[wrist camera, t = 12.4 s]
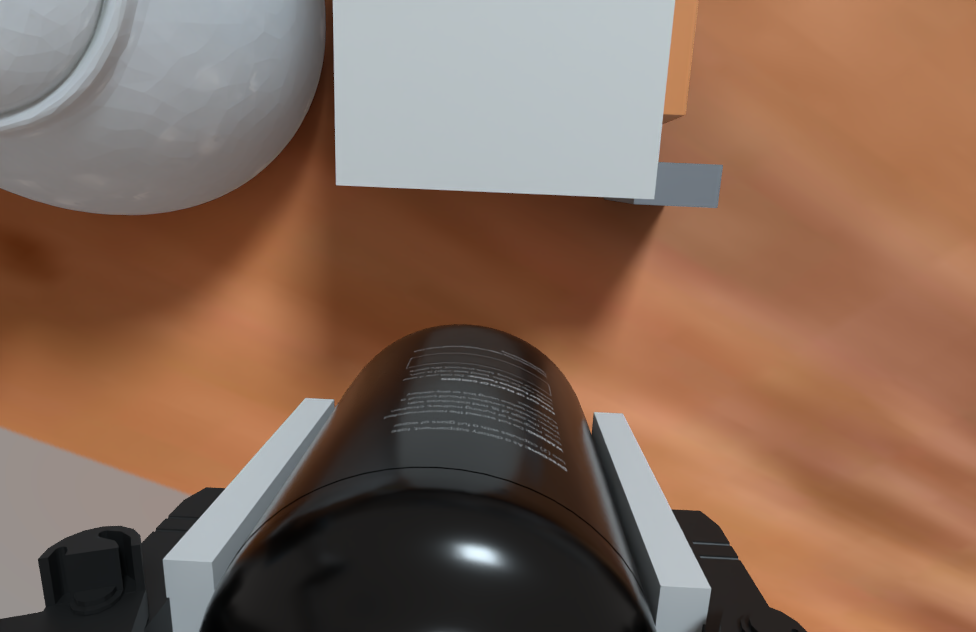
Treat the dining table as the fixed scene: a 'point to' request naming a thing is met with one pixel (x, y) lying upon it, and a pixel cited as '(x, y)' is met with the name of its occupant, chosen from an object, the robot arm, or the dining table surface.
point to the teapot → (151, 97)
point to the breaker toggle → (680, 59)
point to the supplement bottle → (442, 506)
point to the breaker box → (509, 99)
